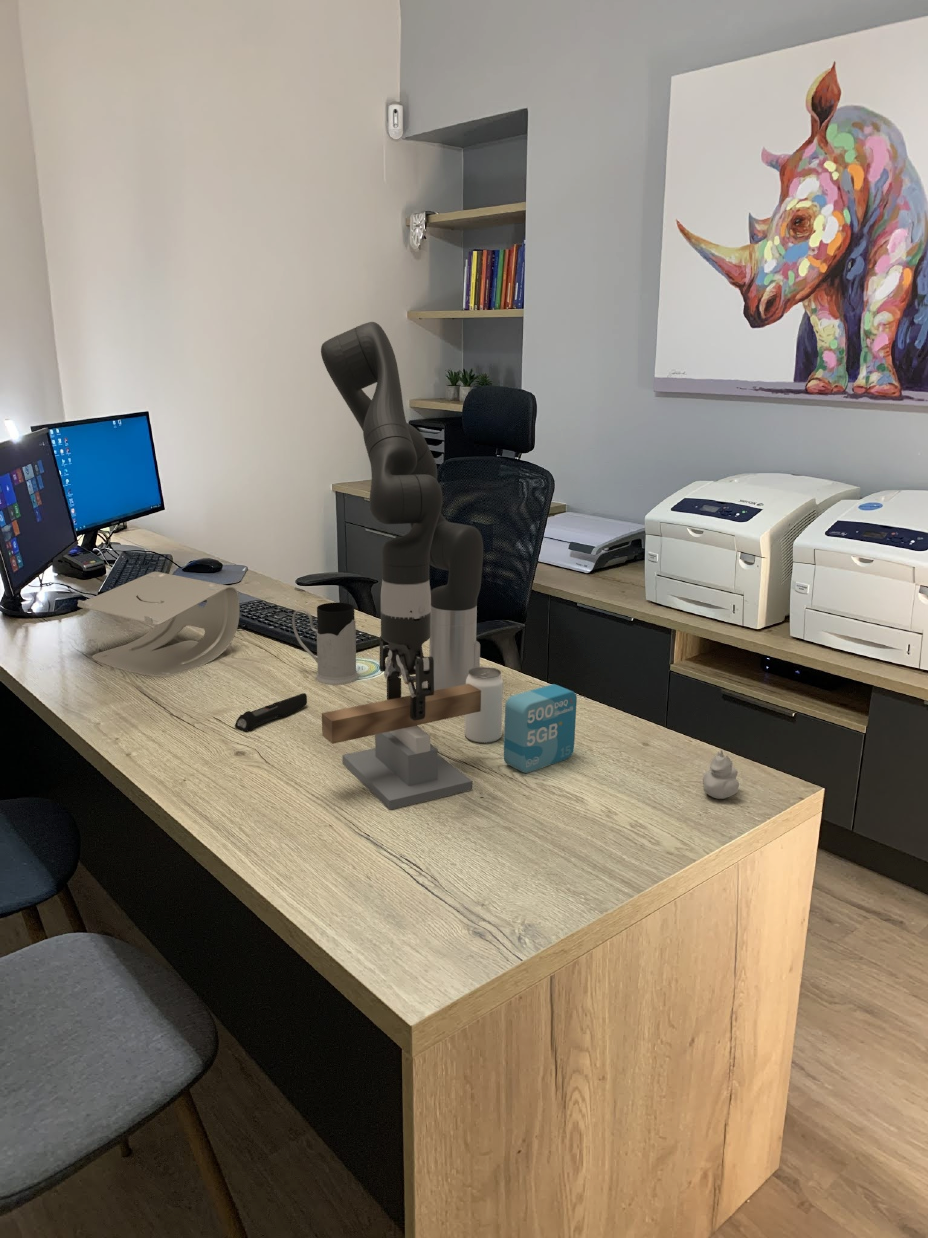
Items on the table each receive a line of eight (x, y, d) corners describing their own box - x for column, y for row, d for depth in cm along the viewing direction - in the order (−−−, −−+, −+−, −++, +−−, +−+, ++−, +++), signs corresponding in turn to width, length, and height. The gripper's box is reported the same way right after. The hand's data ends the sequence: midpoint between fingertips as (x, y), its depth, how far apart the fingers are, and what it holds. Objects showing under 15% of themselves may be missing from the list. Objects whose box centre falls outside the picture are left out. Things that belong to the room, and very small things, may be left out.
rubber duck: (692, 794, 141) (697, 746, 139) (718, 783, 145) (723, 736, 143) (722, 808, 137) (727, 758, 135) (747, 795, 141) (753, 747, 139)
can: (506, 732, 163) (508, 668, 160) (495, 746, 157) (497, 680, 154) (471, 727, 165) (472, 664, 162) (459, 740, 159) (460, 675, 156)
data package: (521, 776, 146) (523, 705, 143) (502, 766, 150) (504, 697, 147) (574, 757, 154) (578, 689, 150) (555, 748, 157) (558, 682, 154)
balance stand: (419, 747, 156) (419, 697, 154) (472, 790, 141) (473, 735, 139) (342, 763, 150) (341, 711, 147) (389, 810, 135) (389, 753, 132)
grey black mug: (347, 687, 184) (345, 614, 180) (284, 678, 188) (281, 607, 184) (365, 673, 192) (364, 604, 188) (304, 665, 196) (302, 597, 192)
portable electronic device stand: (245, 652, 204) (241, 584, 200) (160, 681, 185) (154, 607, 181) (166, 632, 217) (161, 568, 213) (79, 658, 198) (72, 588, 193)
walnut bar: (332, 744, 135) (331, 721, 134) (322, 735, 138) (321, 713, 137) (480, 711, 148) (481, 690, 147) (468, 704, 151) (468, 683, 150)
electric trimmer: (312, 710, 173) (312, 694, 172) (247, 734, 161) (246, 717, 160) (298, 706, 175) (298, 690, 174) (233, 729, 163) (232, 712, 162)
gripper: (363, 600, 142) (364, 699, 146) (404, 623, 130) (404, 730, 135) (407, 595, 146) (407, 691, 150) (450, 617, 134) (449, 721, 138)
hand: (405, 709), depth 142 cm, fingers open, 8 cm apart
